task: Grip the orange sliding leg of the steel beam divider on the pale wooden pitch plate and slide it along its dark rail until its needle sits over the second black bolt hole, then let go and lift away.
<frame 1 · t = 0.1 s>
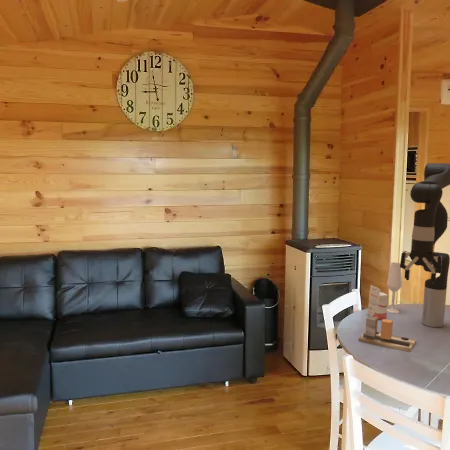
hand: (419, 281, 180), 29 cm above the table, tool pointing down, fingers open, 8 cm apart
ink cartridge box: (377, 317, 231), on the table
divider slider: (388, 328, 197), point 6 cm above the table, slide at 6.0 cm
champagne flute: (392, 311, 240), on the table
pitch plate: (387, 341, 198), on the table
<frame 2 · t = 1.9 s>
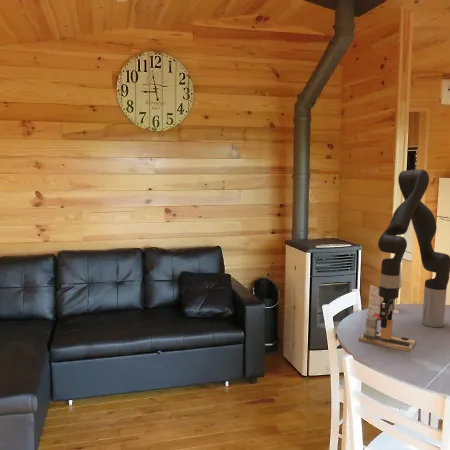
hand: (386, 324, 195), 8 cm above the table, tool pointing down, fingers open, 8 cm apart
nothing on the table moved.
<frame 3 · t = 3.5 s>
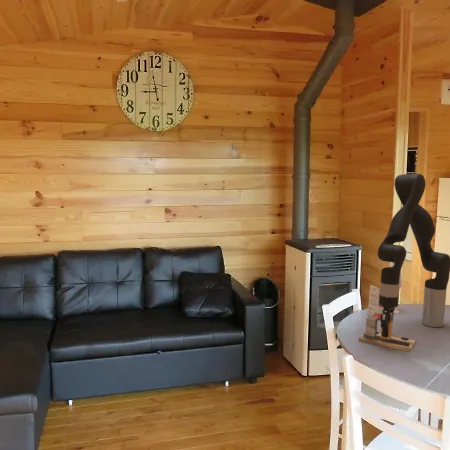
hand: (386, 335, 195), 4 cm above the table, tool pointing down, fingers closed on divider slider, 3 cm apart
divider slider: (388, 328, 197), point 6 cm above the table, slide at 6.0 cm, touching gripper
everything else where it was.
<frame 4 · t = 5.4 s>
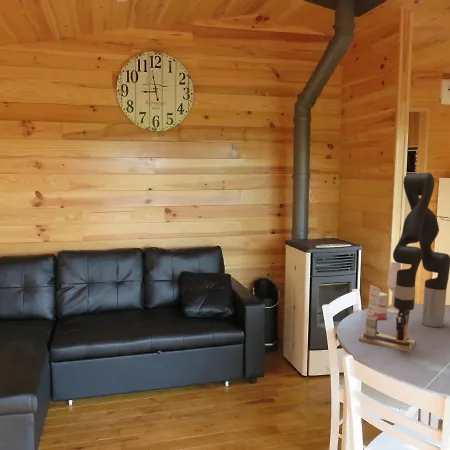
hand: (401, 338, 192), 4 cm above the table, tool pointing down, fingers closed on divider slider, 3 cm apart
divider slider: (403, 331, 194), point 6 cm above the table, slide at 11.9 cm, touching gripper
everything else where it was.
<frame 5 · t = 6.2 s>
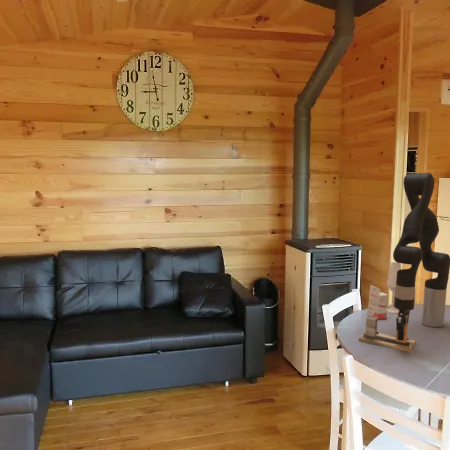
hand: (401, 338, 192), 4 cm above the table, tool pointing down, fingers closed on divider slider, 3 cm apart
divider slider: (403, 331, 194), point 6 cm above the table, slide at 11.9 cm, touching gripper
everything else where it was.
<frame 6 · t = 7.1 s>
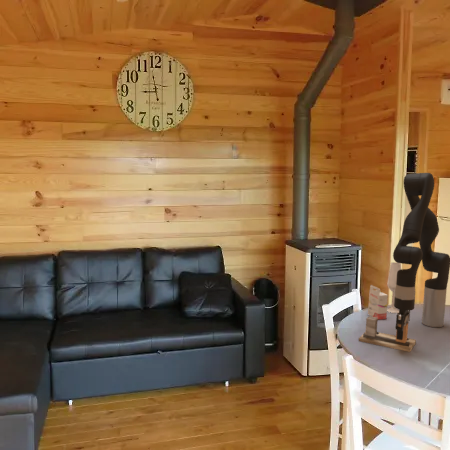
hand: (401, 336, 192), 5 cm above the table, tool pointing down, fingers open, 8 cm apart
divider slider: (403, 331, 194), point 6 cm above the table, slide at 11.9 cm
everything else where it was.
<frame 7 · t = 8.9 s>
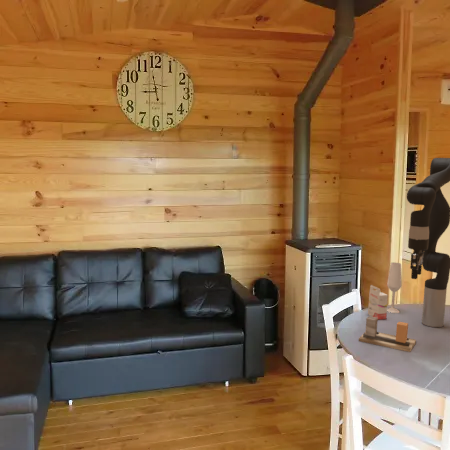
hand: (416, 276, 196), 27 cm above the table, tool pointing down, fingers open, 8 cm apart
nothing on the table moved.
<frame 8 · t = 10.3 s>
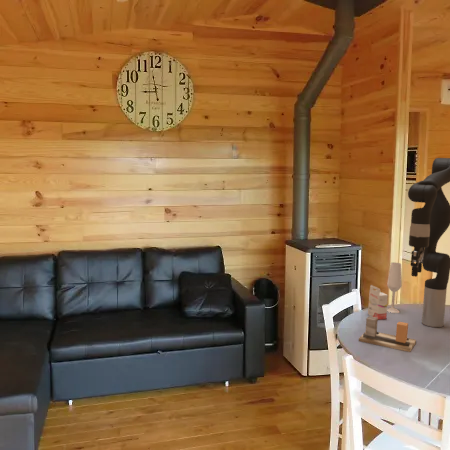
hand: (416, 274, 196), 28 cm above the table, tool pointing down, fingers open, 8 cm apart
nothing on the table moved.
at the end: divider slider slide at 11.9 cm; the gripper is holding nothing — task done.
